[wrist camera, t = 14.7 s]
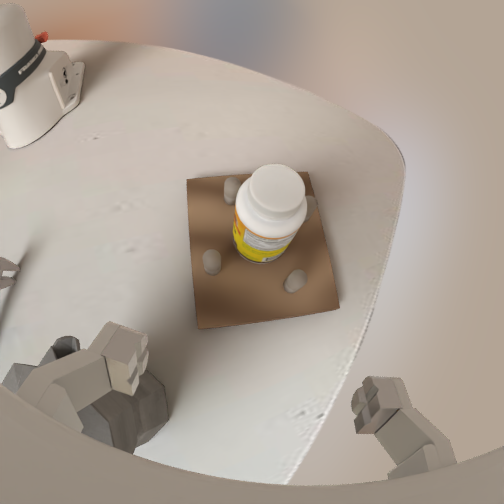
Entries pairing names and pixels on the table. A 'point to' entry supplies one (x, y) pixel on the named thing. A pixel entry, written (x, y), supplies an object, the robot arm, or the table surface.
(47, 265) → the table surface
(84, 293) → the table surface
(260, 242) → the supplement bottle
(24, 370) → the coffeepot
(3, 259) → the caliper
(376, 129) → the table surface
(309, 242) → the peg stand
